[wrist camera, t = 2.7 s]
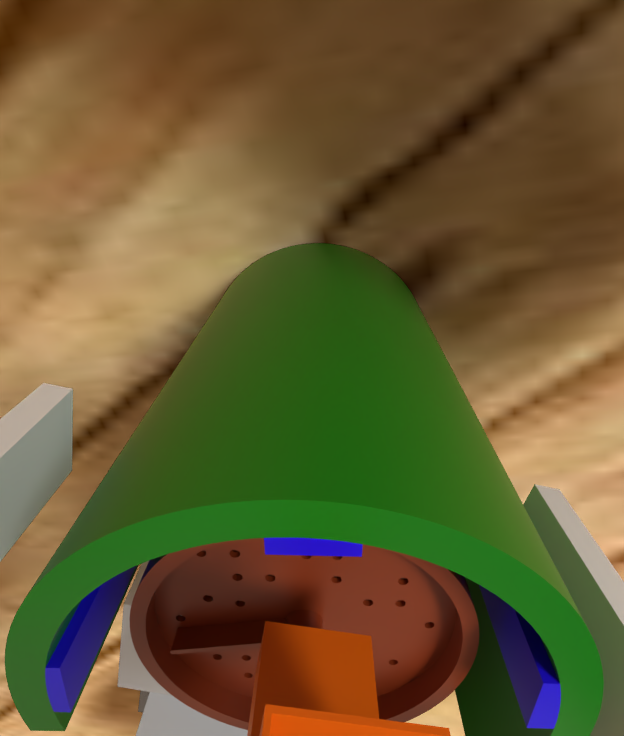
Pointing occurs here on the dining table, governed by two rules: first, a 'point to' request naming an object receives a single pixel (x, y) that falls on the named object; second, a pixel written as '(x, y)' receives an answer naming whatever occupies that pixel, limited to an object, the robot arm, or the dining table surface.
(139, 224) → the dining table surface
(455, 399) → the motor
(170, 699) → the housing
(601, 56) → the dining table surface
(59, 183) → the dining table surface
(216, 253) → the dining table surface
